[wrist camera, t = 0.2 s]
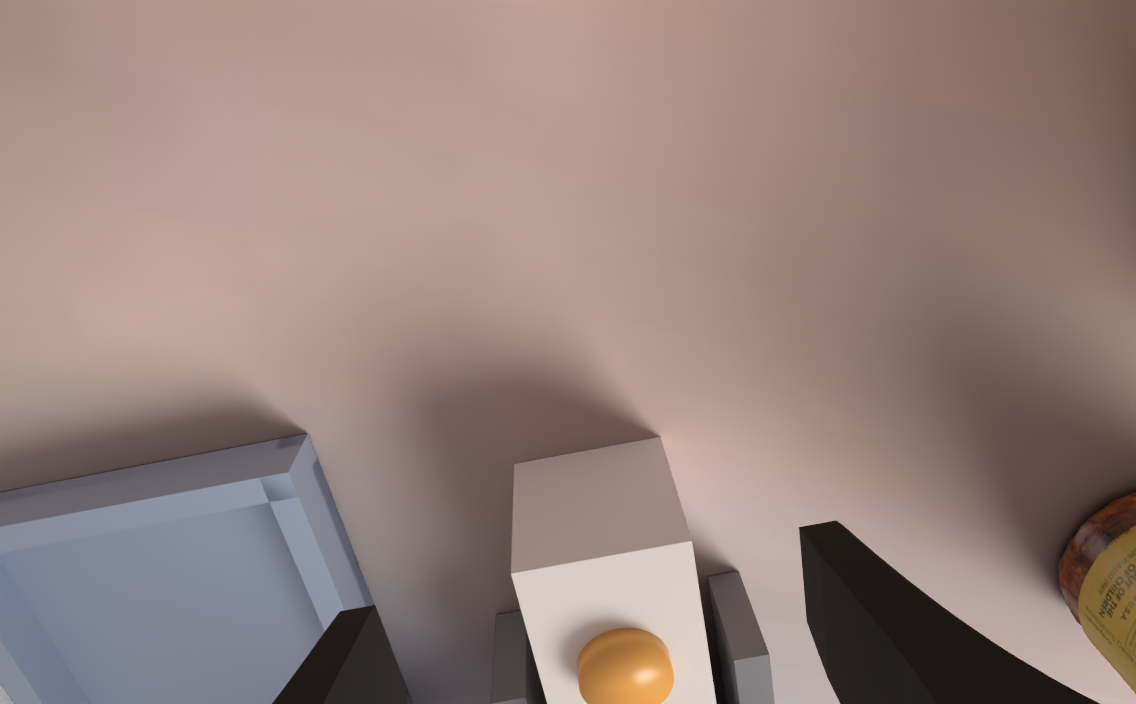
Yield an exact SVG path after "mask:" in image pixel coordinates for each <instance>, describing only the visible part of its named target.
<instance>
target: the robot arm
mask: <svg viewBox="0 0 1136 704" xmlns="http://www.w3.org/2000/svg"><path fill="white" fill-rule="evenodd" d="M799 530H800V543H801V555H802V567H803V579H804V591H805V603H806V616H807V623H808V625H809V628H810V631H811V634H812V636H813V639H814V642H815V645H816V648H817V650H818V653H819V656H820V658H821V661H822V664H823V666H824V669H825V671H826V674H827V677H828V679H829V681H830V683H831V685H832V687H833V689H834V691H835V693H836V695H837V697H838V699H839V701H840V703H841V704H1099V703H1097V702H1095V701H1094V700H1092V699H1090V698H1088V697H1086V696H1084V695H1082V694H1080V693H1078V692H1076V691H1074V690H1072V689H1071V688H1069V687H1067V686H1065V685H1063V684H1061V683H1060V682H1058V681H1056V680H1054V679H1052V678H1051V677H1049V676H1047V675H1046V674H1044V673H1042V672H1041V671H1039V670H1037V669H1035V668H1034V667H1032V666H1030V665H1029V664H1027V663H1025V662H1024V661H1022V660H1020V659H1019V658H1017V657H1015V656H1014V655H1012V654H1011V653H1009V652H1007V651H1006V650H1004V649H1003V648H1001V647H1000V646H998V645H997V644H995V643H994V642H992V641H991V640H989V639H987V638H986V637H985V636H983V635H982V634H980V633H979V632H977V631H976V630H974V629H973V628H972V627H970V626H969V625H967V624H966V623H964V622H963V621H961V620H960V619H959V618H957V617H956V616H954V615H953V614H952V613H950V612H949V611H948V610H946V609H945V608H943V607H942V606H941V605H939V604H938V603H937V602H936V601H934V600H933V599H932V598H930V597H929V596H928V595H926V594H925V593H924V592H923V591H921V590H920V589H919V588H917V587H916V586H915V585H913V584H912V583H911V582H910V581H908V580H907V579H906V578H905V577H903V576H902V575H901V574H900V573H898V572H897V571H896V570H895V569H893V568H892V567H891V566H890V565H889V564H887V563H886V562H885V561H884V560H883V559H881V558H880V557H879V556H878V555H877V554H875V553H874V552H873V551H872V550H871V549H870V548H868V547H867V546H866V545H865V544H864V543H863V542H861V541H860V540H859V539H858V538H857V537H856V536H855V535H853V534H852V533H851V532H850V531H849V530H848V529H847V528H845V527H844V526H843V525H842V524H840V523H839V522H837V521H831V522H826V523H820V524H815V525H809V526H804V527H799ZM407 703H408V691H407V688H406V685H405V683H404V680H403V677H402V675H401V672H400V670H399V667H398V664H397V662H396V659H395V656H394V654H393V651H392V648H391V646H390V643H389V641H388V638H387V635H386V633H385V630H384V627H383V625H382V622H381V619H380V617H379V614H378V612H377V609H376V606H375V605H371V606H366V607H360V608H355V609H349V610H344V611H340V612H339V613H338V615H337V616H336V617H335V619H334V620H333V621H332V623H331V624H330V625H329V627H328V628H327V629H326V631H325V632H324V634H323V635H322V636H321V638H320V639H319V640H318V642H317V643H316V644H315V646H314V647H313V649H312V650H311V651H310V653H309V654H308V656H307V657H306V658H305V660H304V661H303V662H302V664H301V665H300V667H299V668H298V669H297V671H296V672H295V673H294V675H293V676H292V678H291V679H290V680H289V682H288V683H287V684H286V686H285V687H284V688H283V690H282V691H281V692H280V694H279V695H278V696H277V698H276V699H275V700H274V702H273V703H272V704H407Z"/></svg>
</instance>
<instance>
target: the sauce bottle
mask: <svg viewBox="0 0 1136 704" xmlns="http://www.w3.org/2000/svg"><path fill="white" fill-rule="evenodd" d="M1058 569H1059V586H1060V588H1061V590H1062V593H1063V596H1064V599H1065V601H1066V603H1067V605H1068V607H1069V609H1070V611H1071V613H1072V614H1073V616H1074V618H1075V619H1076V621H1077V622H1078V623H1079V624H1080V625H1081V626H1082V628H1083V630H1084V632H1085V634H1086V635H1087V637H1088V638H1089V640H1090V641H1091V643H1092V644H1093V645H1094V646H1095V647H1096V648H1097V649H1098V651H1099V652H1100V653H1101V654H1102V655H1103V656H1104V657H1105V658H1106V660H1107V661H1108V662H1109V663H1110V664H1111V665H1112V666H1113V667H1114V669H1115V670H1116V671H1117V672H1118V673H1119V674H1120V676H1121V677H1122V678H1123V679H1124V680H1125V681H1126V683H1127V684H1128V685H1129V686H1130V687H1131V689H1132V690H1133V691H1134V692H1135V693H1136V492H1134V493H1131V494H1129V495H1127V496H1124V497H1122V498H1119V499H1116V500H1114V501H1112V502H1111V503H1110V504H1108V505H1107V506H1106V507H1105V508H1103V509H1102V510H1100V511H1099V512H1097V513H1096V514H1094V515H1093V516H1091V517H1090V518H1089V519H1088V521H1087V522H1085V523H1084V524H1083V525H1082V526H1081V527H1080V528H1079V530H1078V531H1077V533H1076V534H1075V536H1074V537H1073V538H1072V539H1070V541H1069V542H1068V543H1067V547H1066V549H1065V551H1064V553H1063V555H1062V556H1061V559H1060V561H1059V563H1058Z"/></svg>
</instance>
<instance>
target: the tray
mask: <svg viewBox="0 0 1136 704" xmlns="http://www.w3.org/2000/svg"><path fill="white" fill-rule="evenodd" d="M371 605H374V603H373V601H372V598H371V596H370V593H369V590H368V588H367V585H366V583H365V580H364V577H363V575H362V572H361V570H360V567H359V564H358V562H357V559H356V557H355V554H354V551H353V549H352V546H351V544H350V541H349V539H348V536H347V533H346V531H345V528H344V526H343V523H342V520H341V518H340V515H339V513H338V510H337V507H336V505H335V502H334V500H333V497H332V494H331V492H330V489H329V487H328V484H327V481H326V479H325V476H324V474H323V471H322V468H321V466H320V463H319V461H318V458H317V455H316V453H315V450H314V448H313V445H312V442H311V440H310V437H309V435H308V434H303V435H298V436H292V437H287V438H282V439H277V440H271V441H266V442H261V443H256V444H251V445H245V446H240V447H235V448H230V449H224V450H219V451H214V452H209V453H204V454H198V455H193V456H188V457H183V458H177V459H172V460H167V461H162V462H157V463H151V464H146V465H141V466H136V467H130V468H125V469H120V470H115V471H110V472H104V473H99V474H94V475H89V476H83V477H78V478H73V479H68V480H63V481H57V482H52V483H47V484H42V485H36V486H31V487H26V488H21V489H16V490H10V491H5V492H0V684H1V685H2V687H3V688H4V690H5V691H6V693H7V694H8V695H9V697H10V698H11V700H12V701H13V703H14V704H272V703H273V702H274V700H275V699H276V698H277V696H278V695H279V694H280V692H281V691H282V690H283V688H284V687H285V686H286V684H287V683H288V682H289V680H290V679H291V678H292V676H293V675H294V673H295V672H296V671H297V669H298V668H299V667H300V665H301V664H302V662H303V661H304V660H305V658H306V657H307V656H308V654H309V653H310V651H311V650H312V649H313V647H314V646H315V644H316V643H317V642H318V640H319V639H320V638H321V636H322V635H323V634H324V632H325V631H326V629H327V628H328V627H329V625H330V624H331V623H332V621H333V620H334V619H335V617H336V616H337V615H338V613H339V612H340V611H344V610H349V609H355V608H360V607H366V606H371ZM407 704H412V702H411V699H410V697H409V694H408V703H407Z"/></svg>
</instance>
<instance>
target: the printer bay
mask: <svg viewBox="0 0 1136 704" xmlns="http://www.w3.org/2000/svg"><path fill="white" fill-rule="evenodd" d="M708 581H709V588H710V595H711V601H712V608H713V615H714V622H715V629H716V636H717V643H718V649H719V656H720V663H721V670H722V677H723V684H724V691H725V698H726V704H775V703H774V694H773V685H772V676H771V666H770V657H769V653H768V650H767V647H766V644H765V642H764V639H763V636H762V634H761V631H760V628H759V625H758V623H757V620H756V617H755V614H754V612H753V609H752V606H751V604H750V601H749V598H748V595H747V593H746V590H745V587H744V585H743V582H742V579H741V576H740V574H739V571H736V572H730V573H725V574H719V575H714V576H708ZM491 704H547V701H546V698H545V694H544V691H543V687H542V683H541V680H540V676H539V673H538V669H537V666H536V662H535V658H534V655H533V651H532V648H531V644H530V640H529V637H528V633H527V630H526V626H525V623H524V619H523V615H522V612H521V611H515V612H509V613H504V614H498V615H496V624H495V643H494V661H493V680H492V699H491Z"/></svg>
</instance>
